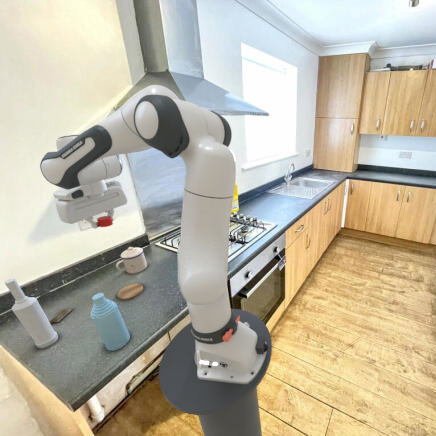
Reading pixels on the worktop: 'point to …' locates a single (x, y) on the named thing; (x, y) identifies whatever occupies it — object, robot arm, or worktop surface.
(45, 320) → the bottle
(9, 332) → the worktop surface
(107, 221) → the cap
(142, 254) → the teacup with lid
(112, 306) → the water bottle
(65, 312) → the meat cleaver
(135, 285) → the coaster
